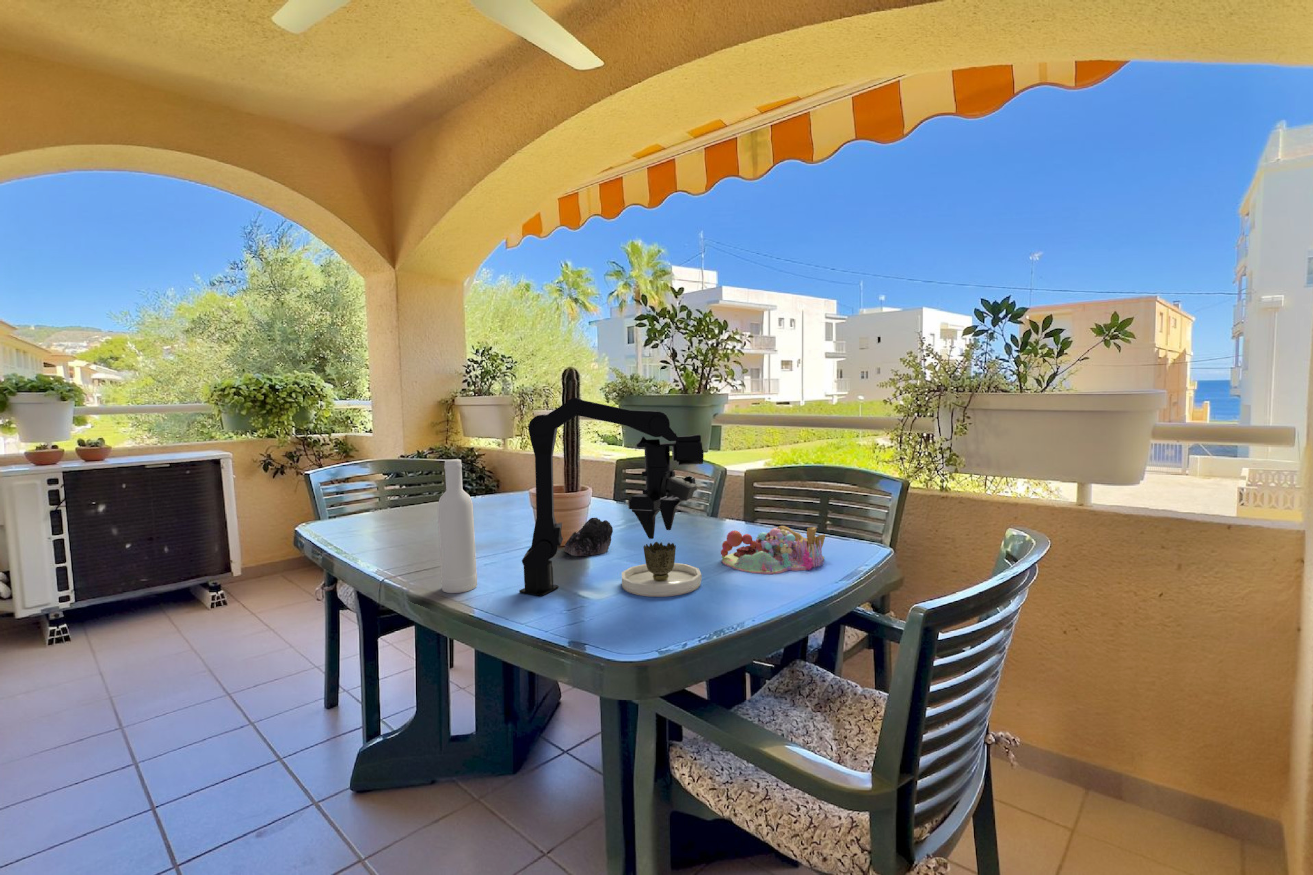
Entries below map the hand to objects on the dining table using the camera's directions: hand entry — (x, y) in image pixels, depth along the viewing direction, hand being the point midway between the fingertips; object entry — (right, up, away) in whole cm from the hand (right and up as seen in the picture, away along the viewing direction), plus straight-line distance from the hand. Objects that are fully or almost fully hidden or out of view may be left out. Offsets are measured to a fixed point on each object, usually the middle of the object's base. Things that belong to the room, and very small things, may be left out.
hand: (660, 534), depth 138 cm
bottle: (-47, -13, +3) cm, 49 cm away
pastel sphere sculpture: (+30, -10, +17) cm, 36 cm away
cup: (0, -11, +1) cm, 11 cm away
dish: (0, -12, +1) cm, 12 cm away
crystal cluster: (-20, -11, +34) cm, 41 cm away
